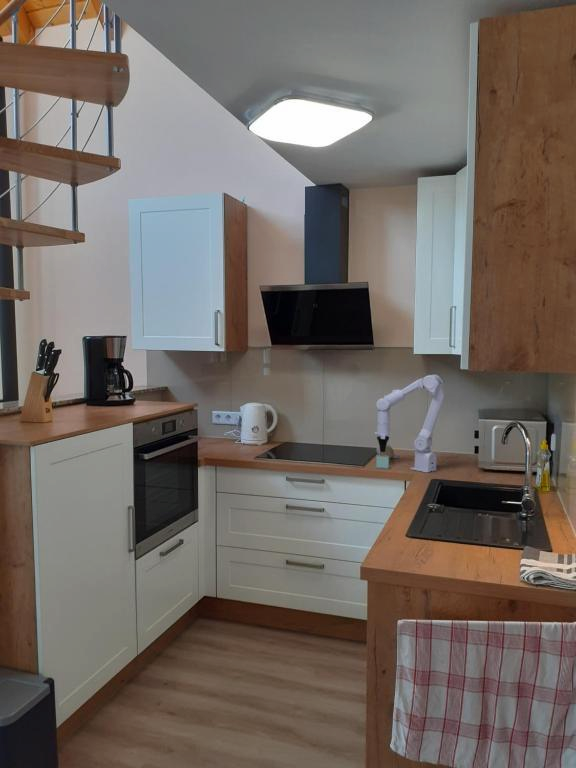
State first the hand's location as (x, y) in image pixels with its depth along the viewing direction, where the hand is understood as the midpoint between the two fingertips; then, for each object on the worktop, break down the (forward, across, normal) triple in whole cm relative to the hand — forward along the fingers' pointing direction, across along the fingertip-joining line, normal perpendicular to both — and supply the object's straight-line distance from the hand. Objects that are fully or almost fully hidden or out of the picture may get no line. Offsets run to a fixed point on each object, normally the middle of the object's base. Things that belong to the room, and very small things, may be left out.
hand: (382, 451), depth 286 cm
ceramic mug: (+7, -18, +2) cm, 20 cm away
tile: (+7, +7, 0) cm, 9 cm away
